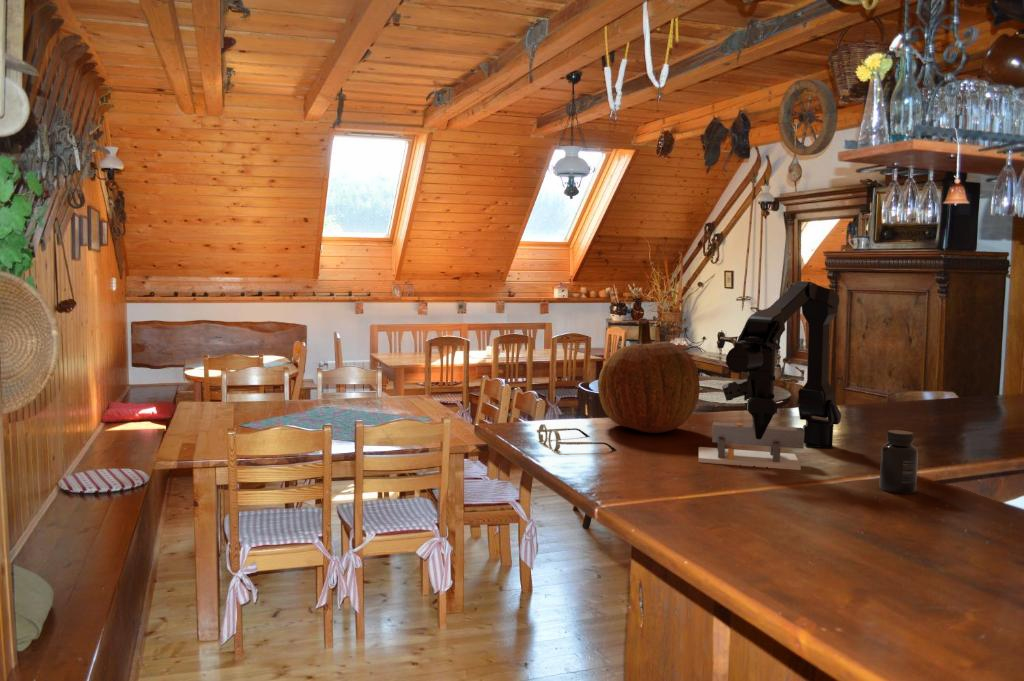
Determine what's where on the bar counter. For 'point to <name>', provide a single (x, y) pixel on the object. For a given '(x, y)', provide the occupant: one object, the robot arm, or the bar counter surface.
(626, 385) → the pumpkin
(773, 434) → the grey square bar
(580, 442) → the eyeglasses
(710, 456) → the collar stand
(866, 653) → the bar counter surface
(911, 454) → the supplement bottle
